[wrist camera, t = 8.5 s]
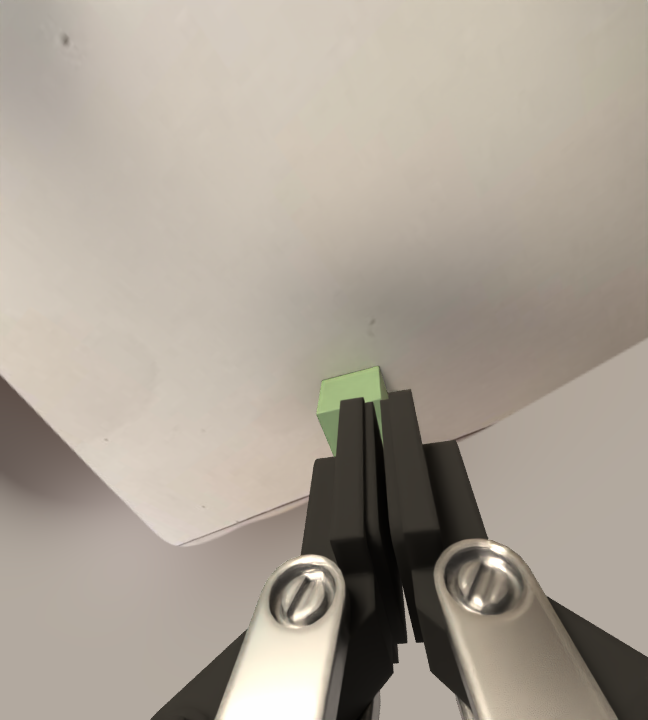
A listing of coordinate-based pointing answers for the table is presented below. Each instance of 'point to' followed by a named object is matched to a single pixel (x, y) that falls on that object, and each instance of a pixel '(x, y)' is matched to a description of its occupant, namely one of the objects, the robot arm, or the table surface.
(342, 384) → the block
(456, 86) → the table surface
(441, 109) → the table surface
